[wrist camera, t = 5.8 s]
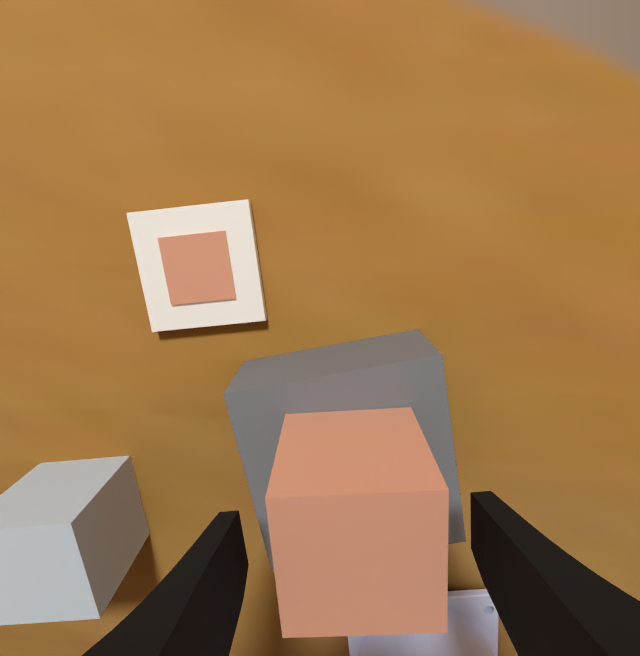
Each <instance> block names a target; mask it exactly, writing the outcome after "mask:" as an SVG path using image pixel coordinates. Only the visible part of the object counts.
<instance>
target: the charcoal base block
mask: <svg viewBox="0 0 640 656" xmlns="http://www.w3.org/2000/svg"><path fill="white" fill-rule="evenodd" d="M223 395H224V399H225V402H226V406H227V410H228V413H229V417H230V421H231V424H232V428H233V431H234V435H235V439H236V442H237V446H238V449H239V453H240V457H241V460H242V464H243V468H244V471H245V475H246V478H247V482H248V486H249V489H250V493H251V496H252V500H253V504H254V507H255V511H256V514H257V518H258V522H259V525H260V529H261V533H262V536H263V540H264V543H265V547H266V551H267V554H268V558H269V561H270V565H271V569H272V570H274V566H273V558H272V550H271V542H270V534H269V526H268V518H267V510H266V502H265V497H266V492H267V488H268V484H269V480H270V476H271V472H272V467H273V463H274V459H275V455H276V451H277V447H278V443H279V438H280V434H281V430H282V426H283V422H284V418H285V414H294V413H312V412H331V411H349V410H367V409H386V408H404V407H411V408H412V411H413V413H414V415H415V417H416V419H417V422H418V424H419V426H420V428H421V430H422V432H423V435H424V437H425V439H426V441H427V443H428V446H429V448H430V450H431V452H432V454H433V456H434V459H435V461H436V463H437V465H438V467H439V470H440V472H441V474H442V476H443V478H444V480H445V483H446V485H447V487H448V489H449V518H448V544H451V543H458V542H465V541H466V538H465V530H464V522H463V514H462V506H461V498H460V491H459V483H458V475H457V467H456V459H455V451H454V443H453V435H452V427H451V420H450V412H449V404H448V396H447V388H446V380H445V372H444V364H443V356H442V354H441V353H440V352H439V351H438V350H437V349H436V347H435V346H434V345H433V344H432V343H431V342H430V341H429V340H428V339H427V338H426V337H425V336H424V335H423V334H422V333H421V332H420V331H419V329H416V330H411V331H406V332H400V333H395V334H389V335H384V336H378V337H373V338H367V339H362V340H357V341H351V342H346V343H340V344H335V345H329V346H324V347H318V348H313V349H308V350H302V351H297V352H291V353H286V354H280V355H275V356H269V357H264V358H259V359H253V360H248V361H244V362H243V364H242V365H241V367H240V368H239V370H238V371H237V373H236V375H235V376H234V378H233V379H232V381H231V382H230V384H229V386H228V387H227V389H226V390H225V392H224V393H223Z"/></svg>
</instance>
